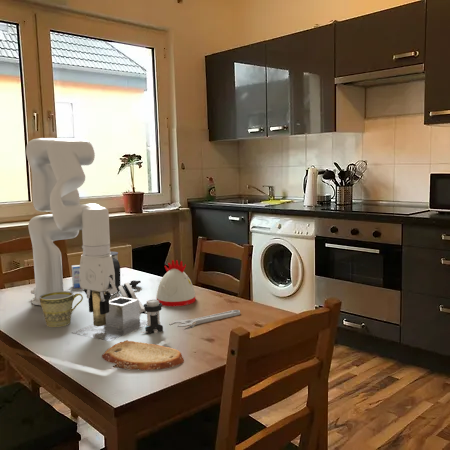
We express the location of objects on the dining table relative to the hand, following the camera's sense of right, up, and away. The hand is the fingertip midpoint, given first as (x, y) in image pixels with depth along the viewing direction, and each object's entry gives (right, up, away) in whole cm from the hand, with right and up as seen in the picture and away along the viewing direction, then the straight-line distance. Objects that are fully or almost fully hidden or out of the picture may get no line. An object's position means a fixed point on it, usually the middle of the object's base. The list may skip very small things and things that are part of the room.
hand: (99, 311), depth 151 cm
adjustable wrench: (+31, -6, +12) cm, 34 cm away
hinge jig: (+3, -6, +5) cm, 8 cm away
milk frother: (-5, 0, +53) cm, 54 cm away
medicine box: (-21, 0, +60) cm, 64 cm away
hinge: (+5, -4, +26) cm, 27 cm away
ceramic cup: (-14, -6, +10) cm, 18 cm away
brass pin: (0, -4, +1) cm, 4 cm away
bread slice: (+15, -10, -18) cm, 25 cm away
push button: (+15, -7, 0) cm, 17 cm away
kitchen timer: (+19, -2, +36) cm, 40 cm away
